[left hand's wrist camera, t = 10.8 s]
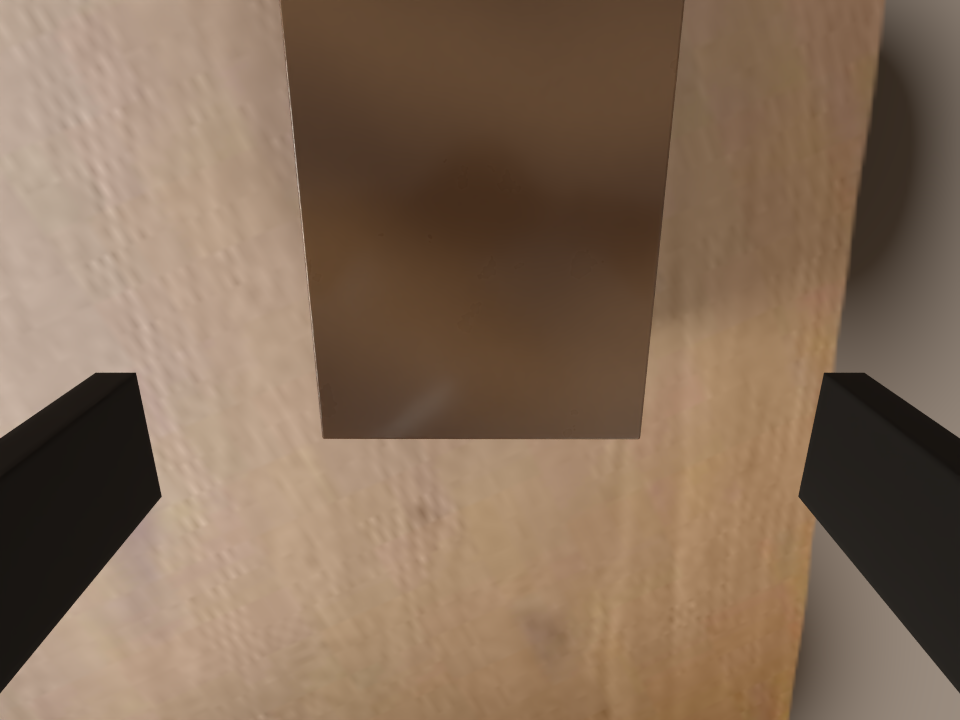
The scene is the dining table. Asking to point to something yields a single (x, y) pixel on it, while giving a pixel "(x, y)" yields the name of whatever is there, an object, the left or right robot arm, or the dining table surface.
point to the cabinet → (481, 210)
